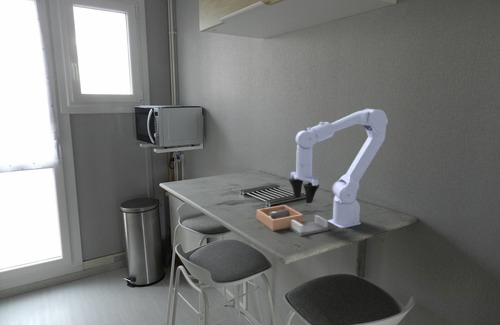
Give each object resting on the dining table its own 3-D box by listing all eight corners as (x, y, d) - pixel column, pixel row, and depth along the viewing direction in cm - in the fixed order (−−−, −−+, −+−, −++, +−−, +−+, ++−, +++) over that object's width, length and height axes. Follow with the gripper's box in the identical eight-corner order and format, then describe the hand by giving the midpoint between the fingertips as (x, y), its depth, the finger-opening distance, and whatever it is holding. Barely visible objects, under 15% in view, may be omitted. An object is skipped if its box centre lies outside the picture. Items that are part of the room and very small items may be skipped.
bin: (284, 214, 135) (284, 204, 134) (302, 224, 123) (302, 214, 123) (256, 219, 129) (256, 209, 128) (272, 231, 118) (272, 220, 117)
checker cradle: (316, 223, 125) (317, 214, 124) (328, 229, 119) (329, 220, 118) (289, 229, 120) (289, 219, 119) (300, 236, 114) (300, 226, 113)
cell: (284, 217, 130) (284, 207, 129) (290, 221, 126) (290, 211, 125) (266, 221, 126) (266, 211, 125) (272, 224, 123) (272, 214, 122)
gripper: (284, 161, 125) (283, 196, 127) (306, 168, 112) (305, 207, 114) (299, 159, 128) (299, 193, 130) (323, 166, 115) (322, 204, 117)
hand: (303, 199), depth 123 cm, fingers open, 7 cm apart
